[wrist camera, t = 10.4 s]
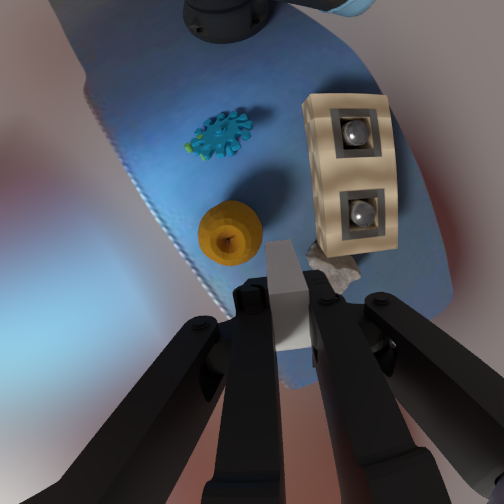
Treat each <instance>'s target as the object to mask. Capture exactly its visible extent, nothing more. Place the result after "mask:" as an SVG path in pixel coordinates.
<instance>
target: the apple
mask: <svg viewBox="0 0 504 504" xmlns="http://www.w3.org/2000/svg"><path fill="white" fill-rule="evenodd" d="M262 236H263V229H262V225H261V222H260V219H259V218H258V216H257V214H256V213H255V212H254V211H253V210H252V208H250V207H249V206H247V205H246V204H244V203H242V202H239V201H236V200H228V201H223V202H222V203H220V204H218V205H217V206H215V207H213V208H212V209H210V210H209V211H208V212H207V213H206V214H205V215H204V216H203V218H202V219H201V221H200V224H199V229H198V240H199V245H200V248H201V250H202V251H203V253H204V254H205V255H206V256H207V257H209V258H210V259H212V260H214V261H215V262H217V263H219V264H222V265H225V266H234V265H239V264H242V263H245V262H247V261H249V260H250V259H251V258H252V257H254V256H255V255H256V253H257V251H258V250H259V248H260V245H261V243H262Z"/></svg>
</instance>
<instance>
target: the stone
mask: <svg viewBox="0 0 504 504" xmlns="http://www.w3.org/2000/svg"><path fill="white" fill-rule="evenodd" d="M305 256H306V258H307V259H308V262H309V265H310V266H311V267H312V268H313V270H317V269H319V270H321V271H322V272H324V273H325V274H326V276H327V279H328V280H329V282H330V284H331V286H332V288H333V290H334V291H335V293H338V294H343V293H344V291H345V289H346V288H347V287H348V286H349V284H350V283H351V282H352V281H354V280H356V279H360V277H361V273H360V270H359V268H358V266H357V264H356V262H355V261H354V258H353V257H352V256H351V255H344V256H336V257H328V258H327V256H326V255H325V253H324V252H323V250H322V249H321V247H320V246H319V244H318V243H314V244H312V246H311V248H310V249H309V251H308V252H307V254H306V255H305Z"/></svg>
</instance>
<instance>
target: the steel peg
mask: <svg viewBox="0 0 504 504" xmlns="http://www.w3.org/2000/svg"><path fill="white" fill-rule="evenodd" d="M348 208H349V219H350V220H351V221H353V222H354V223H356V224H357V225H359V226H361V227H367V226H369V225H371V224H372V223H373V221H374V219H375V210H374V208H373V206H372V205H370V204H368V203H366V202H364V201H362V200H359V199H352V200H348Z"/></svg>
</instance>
